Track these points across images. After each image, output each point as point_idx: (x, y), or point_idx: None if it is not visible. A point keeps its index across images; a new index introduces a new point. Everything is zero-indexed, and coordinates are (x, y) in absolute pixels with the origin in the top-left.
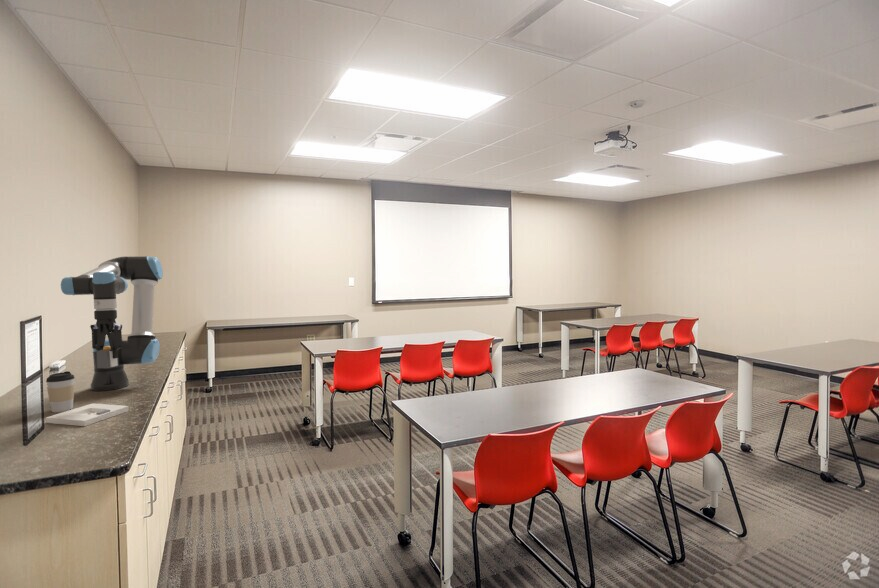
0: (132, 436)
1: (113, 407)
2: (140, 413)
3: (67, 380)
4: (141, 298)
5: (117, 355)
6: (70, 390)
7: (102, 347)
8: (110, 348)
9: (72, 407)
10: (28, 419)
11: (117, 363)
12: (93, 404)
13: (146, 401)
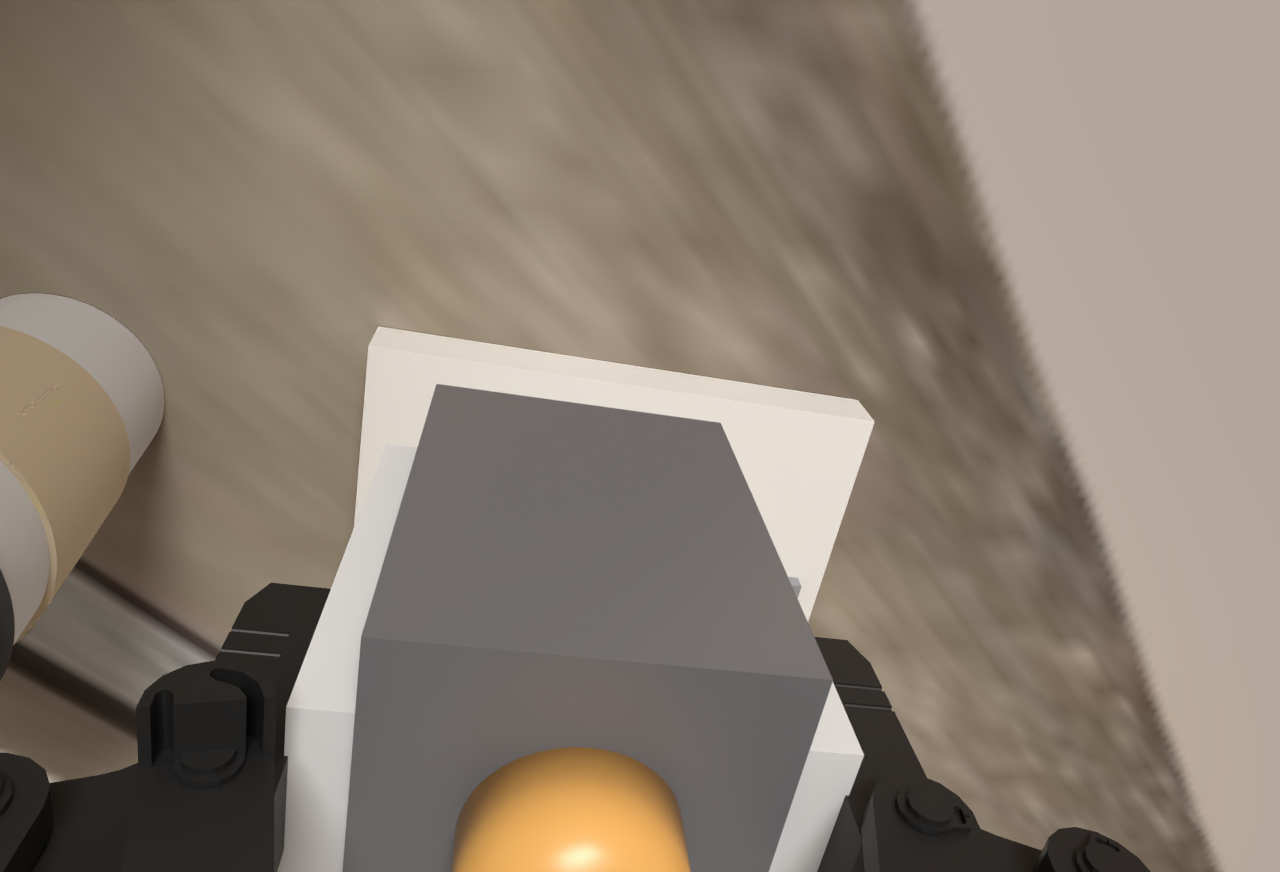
0: (1188, 857)
1: (745, 473)
2: (1016, 462)
3: (6, 630)
4: None
5: (877, 701)
6: (82, 501)
7: (252, 825)
8: (688, 864)
9: (143, 356)
10: (68, 663)
11: (761, 515)
12: (423, 385)
13: (850, 28)
